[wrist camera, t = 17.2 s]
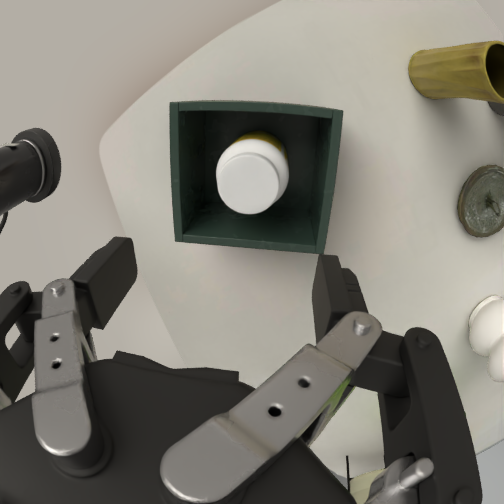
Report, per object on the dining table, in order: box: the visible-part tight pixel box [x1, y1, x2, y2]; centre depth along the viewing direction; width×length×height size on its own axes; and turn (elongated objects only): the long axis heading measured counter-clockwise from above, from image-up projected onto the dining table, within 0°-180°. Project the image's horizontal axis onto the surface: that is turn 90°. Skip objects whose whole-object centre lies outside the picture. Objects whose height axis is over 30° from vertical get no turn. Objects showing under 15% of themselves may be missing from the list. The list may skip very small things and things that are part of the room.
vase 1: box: [409, 41, 504, 104], centre depth 18 cm, size 6×6×14 cm
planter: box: [346, 455, 385, 504], centre depth 57 cm, size 15×16×23 cm
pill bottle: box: [216, 130, 289, 214], centre depth 26 cm, size 6×6×11 cm
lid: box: [457, 165, 504, 237], centre depth 29 cm, size 10×10×5 cm
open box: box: [170, 100, 343, 254], centre depth 28 cm, size 14×13×10 cm
